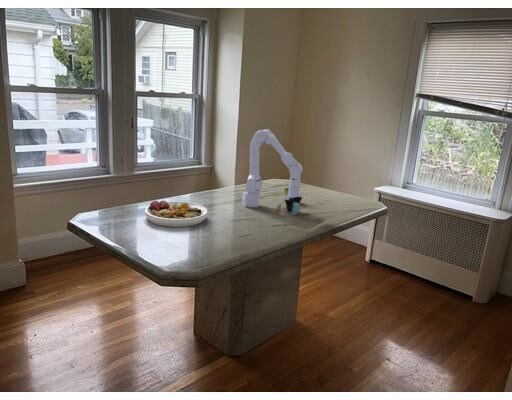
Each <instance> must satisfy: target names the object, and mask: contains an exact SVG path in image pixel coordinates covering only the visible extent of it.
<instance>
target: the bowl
mask: <svg viewBox="0 0 512 400" xmlns="http://www.w3.org/2000/svg"><path fill="white" fill-rule="evenodd" d="M144 213H145V217H146V218H147V219H148V220H149V221H150V222H151V223H153V224H155V225H158V226H160V227H161V226H162V227H166V228H187V227H193V226H196V225H199V224H200V223H202V222H204V221H205V220H206V218H207V217H208V209H207V208H206V207H205V206H203V205H201V204H197V203H193V202H185V201H166V200H160V201H158V200H153V201H152V202H151V203H149V205H148V206H146V208H145V210H144Z"/></svg>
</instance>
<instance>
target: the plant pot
mask: <svg viewBox="0 0 512 400" xmlns="http://www.w3.org/2000/svg"><path fill="white" fill-rule="evenodd" d="M282 190H283V193H284V197H285V196H287V194H288V193H289V187H285V188H283V189H282ZM292 200H293V199H292Z"/></svg>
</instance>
